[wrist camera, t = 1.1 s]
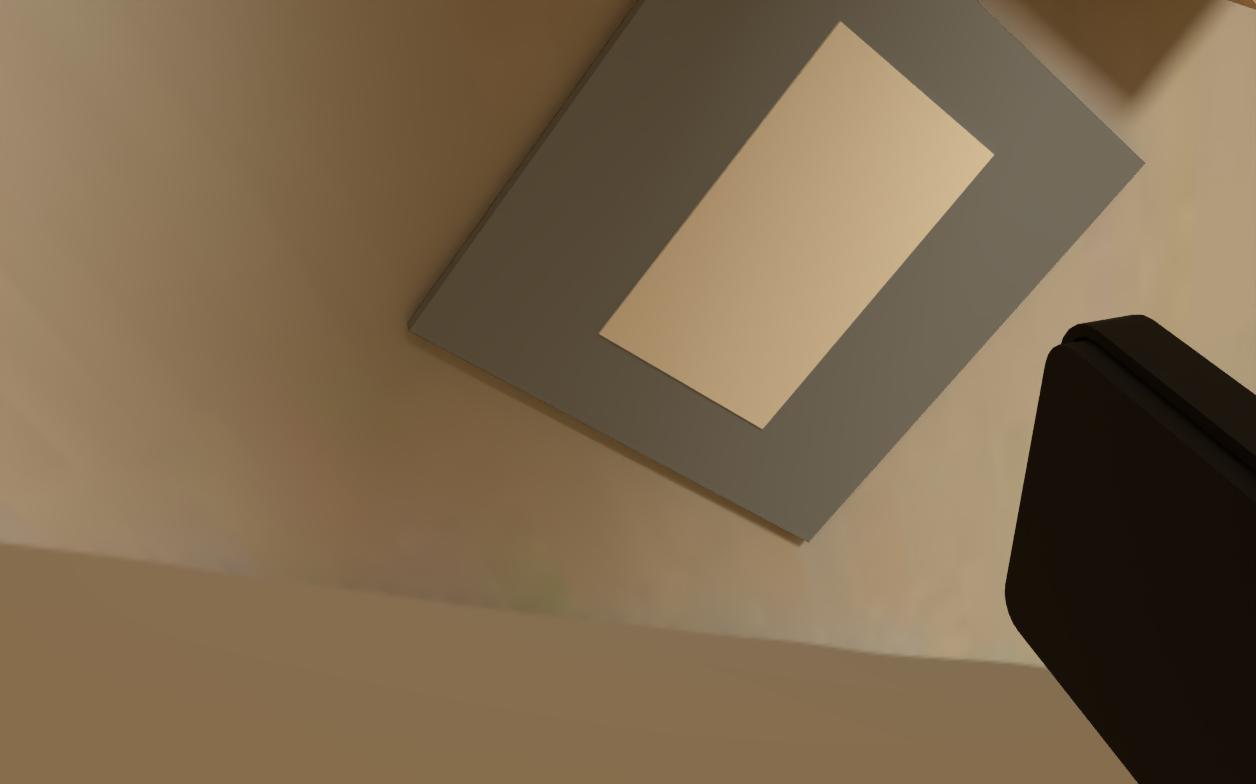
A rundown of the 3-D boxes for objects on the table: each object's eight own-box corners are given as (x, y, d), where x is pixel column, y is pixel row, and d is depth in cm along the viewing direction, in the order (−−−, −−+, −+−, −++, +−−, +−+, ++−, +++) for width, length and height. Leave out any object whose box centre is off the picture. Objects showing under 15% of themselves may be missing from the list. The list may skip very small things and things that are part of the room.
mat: (773, -190, 32) (781, -188, 32) (1136, 158, 41) (1147, 164, 40) (407, 323, 37) (409, 332, 36) (803, 534, 46) (809, 543, 45)
